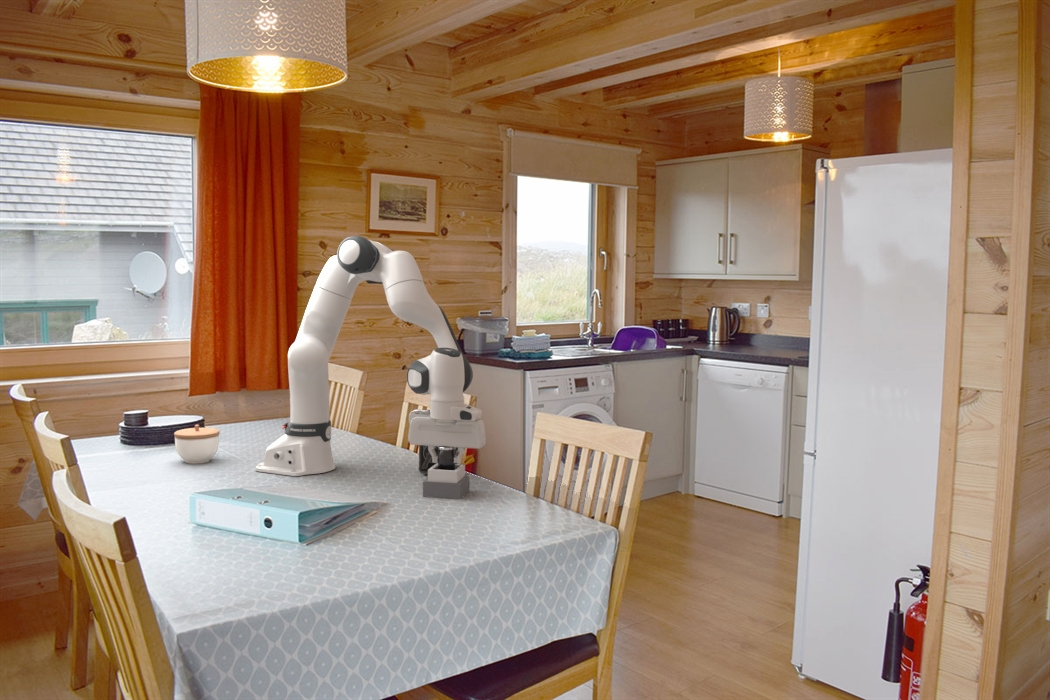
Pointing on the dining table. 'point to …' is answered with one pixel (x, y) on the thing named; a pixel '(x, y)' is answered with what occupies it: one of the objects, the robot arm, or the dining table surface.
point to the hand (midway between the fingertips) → (446, 463)
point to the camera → (428, 458)
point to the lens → (446, 458)
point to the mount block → (446, 483)
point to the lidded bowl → (197, 444)
